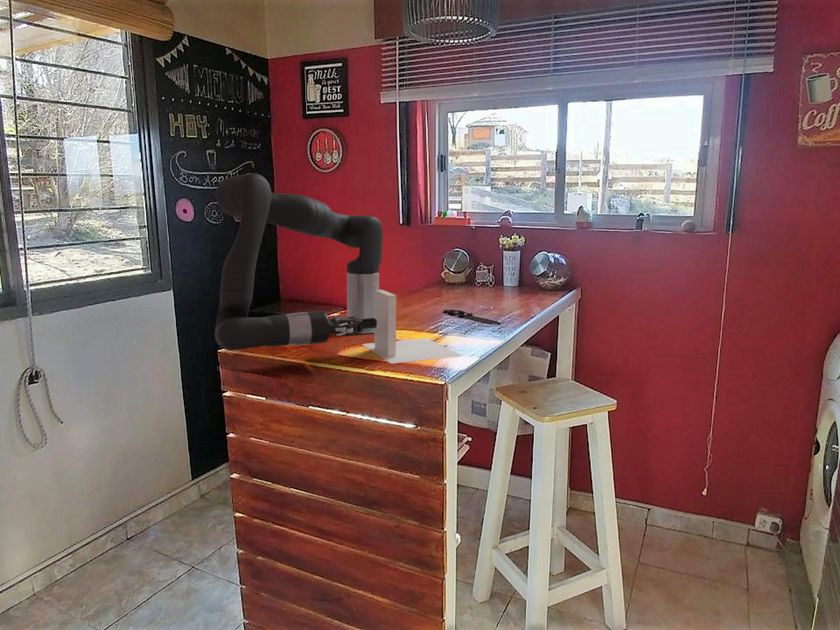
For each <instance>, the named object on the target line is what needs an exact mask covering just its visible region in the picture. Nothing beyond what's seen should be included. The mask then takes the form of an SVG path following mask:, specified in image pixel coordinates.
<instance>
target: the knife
mask: <svg viewBox="0 0 840 630" xmlns="http://www.w3.org/2000/svg"><path fill="white" fill-rule="evenodd" d="M442 313H443V314H447V315H449V316H452V317H455V316H457V318H460V319H461V318H462V319H469V320H474V321H478V322H483V323H485V324H494V325H495V324H498V325H501V322H499V321H497V320H494V319H489V318H484V317H480V316H474V315H473V314H474V313H473V312H467V311H463V310H459V309H458V310H457V309H452V308H451V309H444V310H443V311H442Z"/></svg>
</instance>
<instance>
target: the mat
mask: <svg viewBox="0 0 840 630" xmlns="http://www.w3.org/2000/svg"><path fill="white" fill-rule="evenodd" d="M361 345H362V347H365V348H366V349H368V350H370V351H371V352H372V353H374V354H376V355H377V356H378V357H381V358H382V359H383V360H385V362H387V363H389V364H392V365H393V364H400V363H401V364H402V363H410V362H419V361H420V362H421V361H428V360H437V359H439V360H440V359H446V358H456V357H463V355H462V354H460V353H458V352H456V351H454V350H452V349H450V348H448V347H446V346H444V345H442V344H440V343H438V342H436V341H433V340H432V339H430V338H428V337H423V338H422V337H421V338H413V339H402V340H401V339H400V340H396V356H394V357H387V356H385V355H384V354H382V353H381V352H379V351H378V350H376V349H375V342H371V343H370V342H369V343H361Z"/></svg>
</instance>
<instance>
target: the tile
mask: <svg viewBox="0 0 840 630" xmlns="http://www.w3.org/2000/svg"><path fill="white" fill-rule="evenodd" d="M375 319H376V320H377V327H376V328H375V333H374V343H375V349H376V350H378V351H379V352H381V353H382V354H384V355H385V356H387V357H394V356H396V341H397V339H396V337H397V336H396V335H397V294H394V293H391V292H389V291H386V290H384V289H379V290H375Z"/></svg>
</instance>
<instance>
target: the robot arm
mask: <svg viewBox="0 0 840 630" xmlns="http://www.w3.org/2000/svg"><path fill="white" fill-rule="evenodd" d="M214 192H215V194H214V196H215V200H216V203H217V205H218V206H219V208H220V210H222V211H223V212H224V213H226V214H227V215H229V216H231V217H232V218H233V217H234V218H240V222H239V223H240V224H239V226H238V227H239V228H238V232H237V235H236V238H235V240H234V241H233V245H232V246H231V248H230V250H229V253H228V254H227V255H226V259H225V260H224V264H223V266H222V270H221V271H222V272H221V279H220V288H219V289H220V290H219V291H220V292H219V306H218V311H217V314H216V320H215V326H214V327H215V328H214V339H215V342H216V344H217V345H218V346H219V347H220V348H222V349H224V350H227V351H239V350H245V349H246V350H247V349H254V348H260V347H280V346H281V347H283V346H303V345H304V346H305V345H313V344H314V345H315V344H316V345H317V344H325V343H327V342H328V340H329V337H330V335H335V336H339V337H340V336H343V335H345V336H346V337H351V336H354V335H356V334H358V335H359V334H360V335H361V334H362V335H366V334H367V335H368V334H375V328H376V327H377V320H376V319H375V290H380V266H381V263H382V258H383V257H382V255H383V239H384V233H383V227H382V226H383V225H382V222H381V221H380V219H379V218H377V217H375V216H372V215H352V214H350V215H347V214H342V213H337V212H335V211H333V210H332V209H331V207H330V206H328V205H327V204H326V203H325V202H323V201H320V200H318V199H315V198H312V197H308V196H305V195H302V194H301V195H300V194H293V193H281V192H279V193H278V192H272V189H271V185H270V183H269V182H268V180H267V179H266V178H265V177H264V176H263V175H260V174H259V173H255V172H254V173H252V172H251V173H245V174H238V175H233V176H230V177H227V178H225V179H223V180H222V181H220V183H219V184H218V185H217V186H216V189H215V191H214ZM267 223H269V224H271V225H275V226H277V227H281V228H283V229H286V230H290V231H292V232H297V233H300V234H304V235H308V236H313V237H318V238H327V239H330V240H333V241H336V242H338V243H340V244H343V245H345V246H347V247H349V248H354V249H359V255H358V256H357V257H356V258H355V259H352V260H349V261H348V262H347V264H346V295H347V296H346V306H347V307H346V310H347V311H346V312H347V314H346V315H345V316H344V315H335V314H334V315H331V318H329V317H328V314H327V313H326V311H323V310H320V311H305V312H303V311H301V312H293V313H288V314H278V315H277V314H276V315H269V316H268V315H267V316H263V317H261V316H260V317H259V316H257V317H255V316H253V317H251V316H250V317H249V310H250V306H251V305H252V302H253V296H254V288H255V287H254V286H255V275H256V269H257V268H256V266H257V261H258V255H259V251H260V248H261V244H262V240H263V236H264V233H265V228H266V224H267Z"/></svg>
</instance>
